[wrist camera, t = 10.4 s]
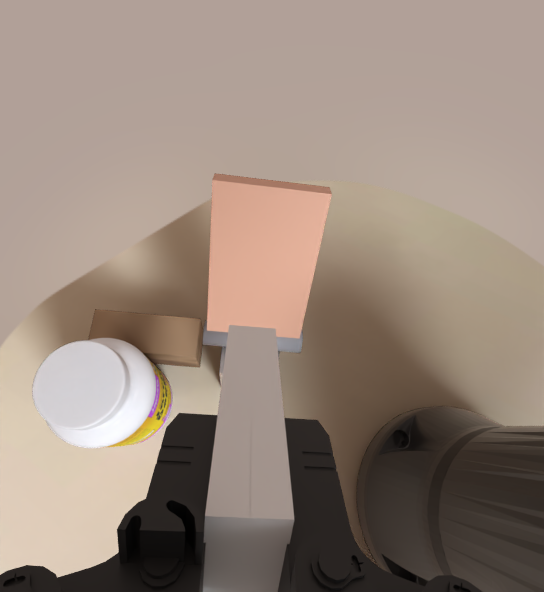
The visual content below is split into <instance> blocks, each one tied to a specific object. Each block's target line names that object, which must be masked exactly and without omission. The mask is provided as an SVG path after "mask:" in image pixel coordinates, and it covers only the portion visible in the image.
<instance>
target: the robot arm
mask: <svg viewBox="0 0 544 592" xmlns="http://www.w3.org/2000/svg"><path fill="white" fill-rule="evenodd" d="M357 508H358V516H359V521H360V525H361V529H362V532H363V535H364V538H365V541H366V543H367V546H368V548H369V550H370V552H371V554H372V556H373V558H374V559H375V561H376V562H377V564H378V566H379V567H380V568H379V567H378V566H377V565H375V564H374V563H373V562H371V561H370V560H369V559H368V558H367V557H366V556H365V554H364V553H363V552H362V551H361V550H360V548H359V547H358V545H357V543H356V542H355V540H354V537H353V535H352V532H351V529H350V525H349V520H348V516H347V512H346V507H345V503H344V499H343V495H342V490H341V486H340V482H339V477H338V473H337V472H336V465H335V460H334V456H333V452H332V447H331V443H330V439H329V435H328V434H327V432H326V431H325V430H324V428H323V427H322V426H321V424H320V423H319V422H318V420H307V419H290V418H284V409H283V399H282V389H281V378H280V368H279V358H278V348H277V338H276V329H274V328H261V327H249V326H236V325H229V330H228V338H227V346H226V353H225V361H224V369H223V377H222V385H221V393H220V401H219V409H218V415H202V414H185V413H179V414H178V415H177V416H176V417H175V419H174V420H173V421H172V422H171V423H170V424H169V425H168V426H167V428H166V431H165V435H164V438H163V442H162V445H161V449H160V452H159V455H158V459H157V464H156V466H155V469H154V473H153V476H152V480H151V483H150V487H149V490H148V494H147V497H146V499H145V500H143V501H140V502H138V503H137V504H136V505H135V506H134V507H133V508H132V509H131V510H130V511H128V512H127V513H126V514H125V516H124V518H123V520H122V522H121V523H120V525H119V527H118V529H117V533H118V546H119V553H118V554H116V555H115V556H113V557H112V558H110V559H109V560H107V561H106V562H103V563H101V564H99V565H96V566H94V567H91V568H88V569H85V570H81V571H78V572H75V573H71V574H68V575H65V576H62V577H58V578H57V576H56V574H54V573H53V572H51V571H50V570H48V569H47V568H45V567H43V566H29V565H26V566H23V567H19V568H16V569H12V570H9V571H6V572H5V573H3V574H1V575H0V592H544V426H506V427H505V426H503V425H501V424H499V423H496V422H494V421H492V420H490V419H488V418H486V417H484V416H482V415H479V414H477V413H475V412H472V411H469V410H465V409H461V408H456V407H448V406H437V407H428V408H420V409H415V410H412V411H408V412H406V413H403V414H401V415H399V416H397V417H396V418H394V419H393V420H391V421H390V422H389V423H387V424H386V425H385V426H384V427H383V428H382V429H381V430H380V431H379V432H378V433H377V435H376V436H375V437H374V439H373V440H372V442H371V443H370V445H369V447H368V448H367V451H366V453H365V455H364V458H363V460H362V463H361V467H360V471H359V476H358V482H357Z"/></svg>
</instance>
